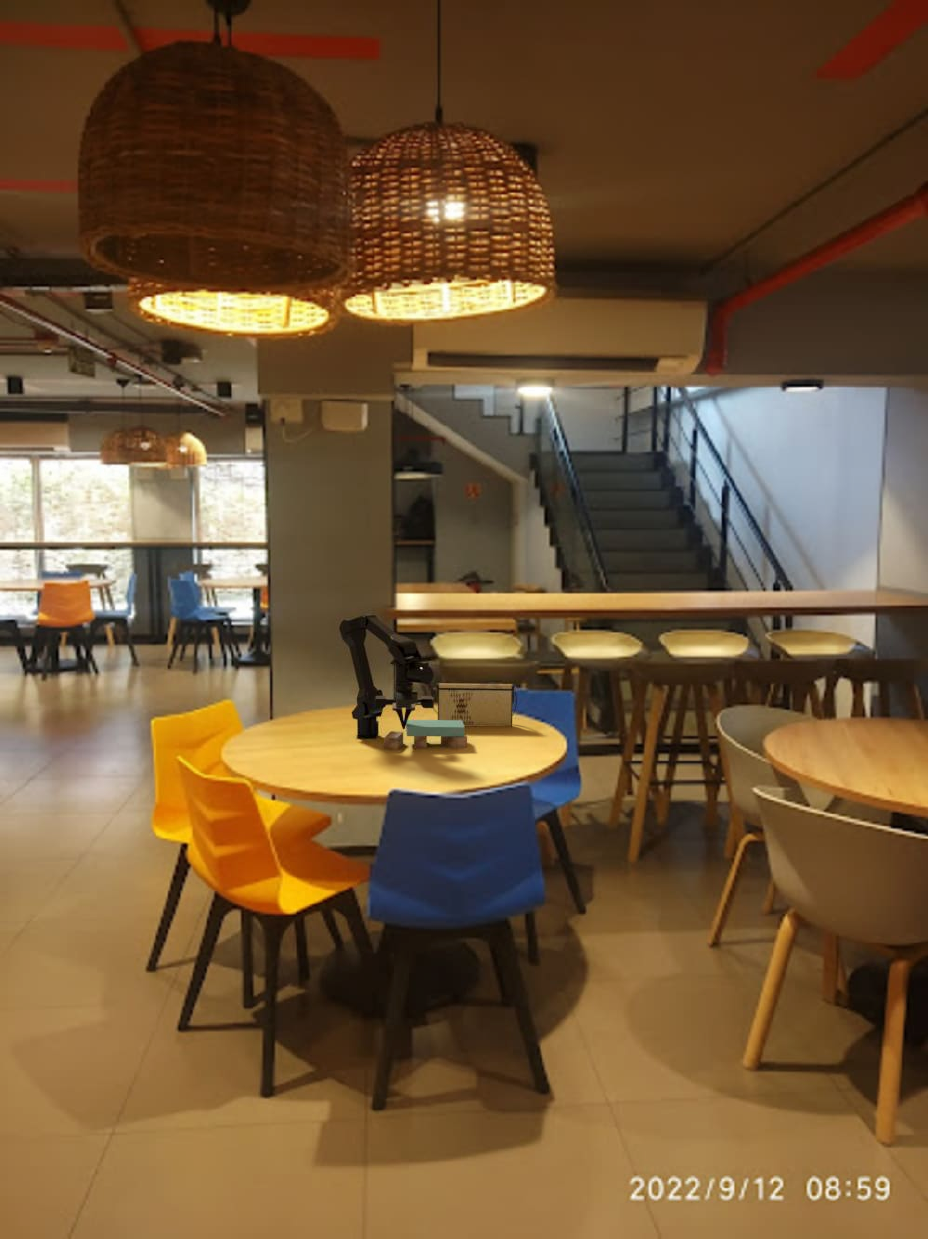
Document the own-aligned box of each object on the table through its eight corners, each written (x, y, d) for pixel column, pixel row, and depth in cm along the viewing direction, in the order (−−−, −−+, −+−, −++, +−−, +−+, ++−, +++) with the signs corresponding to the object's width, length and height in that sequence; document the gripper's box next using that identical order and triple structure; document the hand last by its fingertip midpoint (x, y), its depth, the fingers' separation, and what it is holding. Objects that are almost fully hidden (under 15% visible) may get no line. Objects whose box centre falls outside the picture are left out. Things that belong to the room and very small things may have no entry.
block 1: (384, 750, 278) (384, 737, 277) (391, 743, 286) (391, 731, 285) (396, 750, 277) (396, 738, 277) (403, 744, 285) (403, 731, 284)
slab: (407, 736, 278) (407, 726, 277) (405, 728, 287) (406, 719, 286) (464, 736, 280) (464, 727, 279) (461, 729, 289) (461, 720, 288)
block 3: (440, 745, 284) (440, 733, 284) (450, 742, 287) (450, 731, 286) (457, 750, 278) (457, 738, 278) (467, 748, 281) (467, 736, 280)
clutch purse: (516, 722, 313) (517, 680, 311) (517, 727, 306) (517, 684, 304) (432, 721, 314) (432, 679, 312) (430, 726, 307) (430, 684, 305)
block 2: (413, 748, 279) (414, 736, 278) (413, 741, 287) (414, 729, 286) (426, 748, 279) (426, 736, 278) (426, 742, 287) (426, 730, 286)
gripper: (372, 685, 270) (372, 735, 272) (434, 685, 271) (433, 735, 273) (374, 678, 281) (374, 726, 283) (433, 678, 282) (433, 726, 284)
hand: (403, 728), depth 281 cm, fingers closed
